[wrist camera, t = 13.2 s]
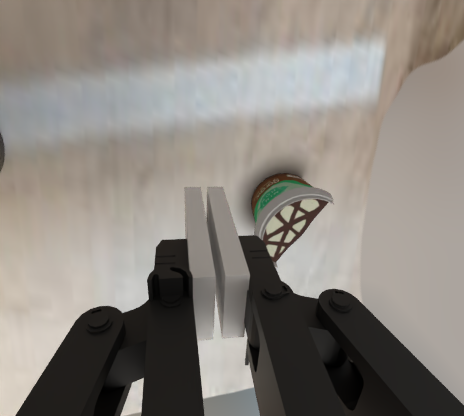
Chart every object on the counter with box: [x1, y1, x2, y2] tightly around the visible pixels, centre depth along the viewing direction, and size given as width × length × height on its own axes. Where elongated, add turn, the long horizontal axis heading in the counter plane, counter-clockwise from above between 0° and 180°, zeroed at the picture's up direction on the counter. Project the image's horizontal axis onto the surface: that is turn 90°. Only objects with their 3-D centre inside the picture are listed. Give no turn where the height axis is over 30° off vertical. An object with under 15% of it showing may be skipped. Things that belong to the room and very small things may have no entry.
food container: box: [252, 173, 334, 267], centre depth 45 cm, size 12×6×10 cm, turn 144°
